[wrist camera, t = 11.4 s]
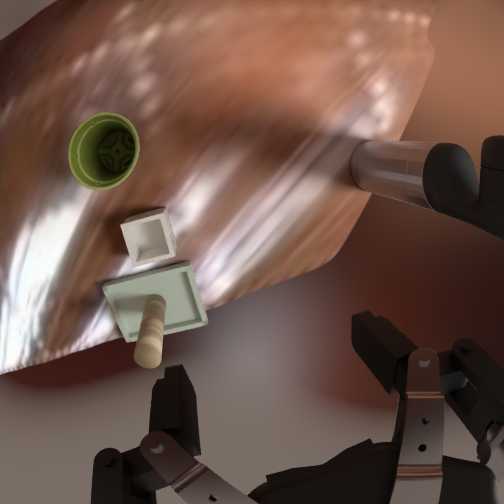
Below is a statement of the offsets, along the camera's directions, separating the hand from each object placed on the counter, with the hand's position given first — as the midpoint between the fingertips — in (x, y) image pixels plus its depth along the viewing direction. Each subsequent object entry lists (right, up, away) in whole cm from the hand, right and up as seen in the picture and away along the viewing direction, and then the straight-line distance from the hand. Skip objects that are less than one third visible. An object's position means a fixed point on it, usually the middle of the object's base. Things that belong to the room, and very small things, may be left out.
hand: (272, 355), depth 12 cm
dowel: (-17, -4, +32) cm, 36 cm away
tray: (-17, -4, +32) cm, 37 cm away
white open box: (-16, +8, +29) cm, 34 cm away
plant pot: (-20, +19, +24) cm, 37 cm away
